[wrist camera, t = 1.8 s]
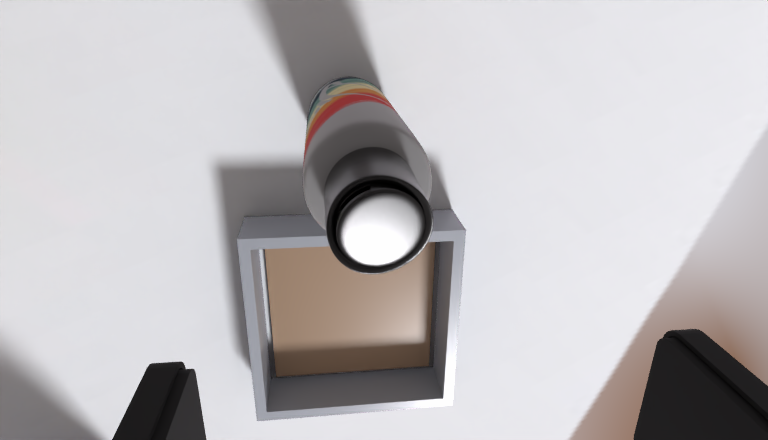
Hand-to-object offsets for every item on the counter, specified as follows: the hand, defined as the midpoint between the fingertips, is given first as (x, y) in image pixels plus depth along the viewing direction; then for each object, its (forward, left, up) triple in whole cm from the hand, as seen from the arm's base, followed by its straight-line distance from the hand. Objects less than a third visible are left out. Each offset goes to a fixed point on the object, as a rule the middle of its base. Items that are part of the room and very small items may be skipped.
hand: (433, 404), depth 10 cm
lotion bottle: (0, 0, -28) cm, 28 cm away
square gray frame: (+15, 0, -28) cm, 32 cm away
